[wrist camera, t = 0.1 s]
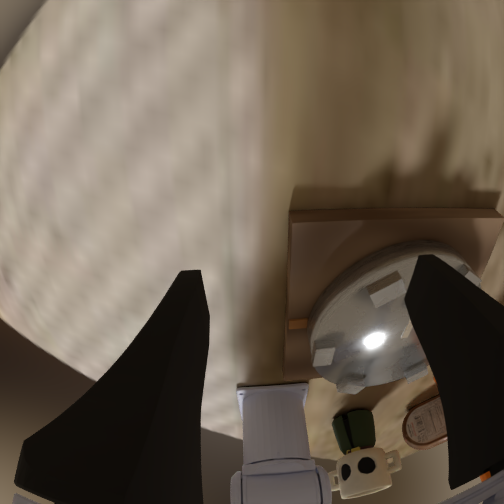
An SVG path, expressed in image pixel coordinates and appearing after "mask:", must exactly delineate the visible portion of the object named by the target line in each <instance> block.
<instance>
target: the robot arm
mask: <svg viewBox="0 0 504 504" xmlns="http://www.w3.org/2000/svg"><path fill="white" fill-rule="evenodd" d="M404 301H405V304H406V308H407V311H408V314H409V317H410V320H411V323H412V326H413V328H414V330H415V333H416V335H417V337H418V339H419V342H420V344H421V346H422V349H423V351H424V353H425V355H426V358H427V360H428V362H429V365H430V367H431V370H432V372H433V375H434V378H435V380H436V383H437V387H438V391H439V395H440V399H441V403H442V407H443V413H444V418H445V424H446V431H447V440H448V453H449V479H448V480H449V485H450V488H451V490H453V489H455V488H457V487H459V486H461V485H463V484H465V483H467V482H469V481H471V480H473V479H475V478H477V477H479V476H481V475H483V474H485V473H486V472H488V471H490V475H491V477H490V478H488V479H486V480H485V481H483V482H481V483H479V484H477V485H475V486H473V487H472V488H470V489H468V490H466V491H464V492H462V493H460V494H457V495H455V496H453V497H451V498H449V499H447V500H444V501H442V502H440V503H438V504H479V503H480V502H482V501H483V504H504V306H503V305H501V304H500V303H499V302H497V301H496V300H495V299H493V298H492V297H491V296H489V295H488V294H487V293H485V292H484V291H483V290H481V289H480V288H479V287H478V286H476V285H475V284H474V283H472V282H471V281H470V280H469V279H467V278H466V277H465V276H463V275H462V274H461V273H459V272H458V271H457V270H455V269H454V268H453V267H451V266H450V265H449V264H447V263H446V262H444V261H443V260H441V259H440V258H438V257H437V256H435V255H433V254H427V255H419V256H418V259H417V262H416V265H415V268H414V272H413V275H412V278H411V281H410V283H409V286H408V289H407V292H406V295H405V298H404ZM209 331H210V314H209V310H208V305H207V300H206V295H205V290H204V285H203V280H202V275H201V270H185V271H181V272H180V273H179V274H178V275H177V277H176V278H175V280H174V282H173V283H172V285H171V287H170V288H169V290H168V291H167V293H166V294H165V296H164V297H163V299H162V301H161V302H160V304H159V305H158V307H157V308H156V309H155V311H154V312H153V314H152V315H151V317H150V318H149V320H148V321H147V323H146V324H145V325H144V327H143V328H142V329H141V331H140V332H139V333H138V335H137V336H136V337H135V339H134V340H133V341H132V343H131V344H130V345H129V346H128V348H127V349H126V350H125V351H124V353H123V354H122V355H121V356H120V357H119V358H118V360H117V361H116V362H115V363H114V364H113V365H112V366H111V368H110V369H109V370H108V371H107V372H106V373H105V374H104V375H103V376H102V377H101V378H100V379H99V380H98V381H97V382H96V383H95V384H94V385H93V386H92V387H91V388H90V389H89V390H88V391H87V392H86V393H85V394H84V395H83V396H82V397H81V398H79V399H78V400H77V401H76V402H75V403H74V404H72V405H71V406H70V407H69V408H68V409H67V410H65V411H64V412H63V413H62V414H61V415H60V416H58V417H57V418H56V419H54V420H53V421H52V422H50V423H49V424H48V425H46V426H45V427H43V428H42V429H40V430H39V431H38V432H36V433H35V434H33V435H32V436H30V437H29V438H27V439H26V440H24V443H23V446H22V449H21V453H20V457H19V461H18V466H17V470H16V474H15V480H14V483H15V485H16V486H18V487H20V488H22V489H24V490H26V491H28V492H31V493H33V494H35V495H37V496H40V497H42V498H44V499H47V500H49V501H52V502H54V503H55V504H203V493H202V476H201V447H200V446H201V444H200V442H201V441H200V440H201V436H200V434H201V432H200V431H201V430H200V429H201V404H202V396H203V388H204V380H205V372H206V365H207V357H208V349H209ZM308 388H309V386H308V383H298V384H287V385H274V386H259V387H240V388H237V390H236V392H237V397H238V403H239V408H240V413H241V418H242V421H243V450H244V465H242V471H243V473H242V472H241V471H240V472H239V471H238V472H236V473H235V474H234V475H233V476H232V478H231V504H331V502H332V494H331V484H330V479H329V476H328V473H327V471H326V470H325V469H324V468H322V467H321V466H320V465H317V466H315V460H314V459H313V460H311V457H310V450H309V442H308V435H307V428H306V421H305V413H304V405H305V401H306V397H307V392H308ZM242 474H243V475H242ZM13 504H40V503H37V502H35V501H33V500H31V499H28V498H26V497H24V496H21V495H19V494H17V493H16V494H14V497H13Z"/></svg>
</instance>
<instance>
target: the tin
mask: <svg viewBox="0 0 504 504" xmlns="http://www.w3.org/2000/svg"><path fill="white" fill-rule="evenodd" d="M402 432H403V437H404V440H405V442H406V443H407V444H408V445H409V446H410V447H412V448H414V449H417V450H426V449H430V448H433V447H435V446H437V445H439V444H441V443H443V442H446V441H448V440H447V431H446V424H445V418H444V413H443V407H442V403H441V399H440V395H437V396H435V397H433V398H431V399H429V400H427V401H425V402H422V403H420V404H418V405H416V406H415V407H413V408H412V409H411V410H410V411H409V412H408V413H407V415H406V416H405V418H404V421H403V425H402Z"/></svg>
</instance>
